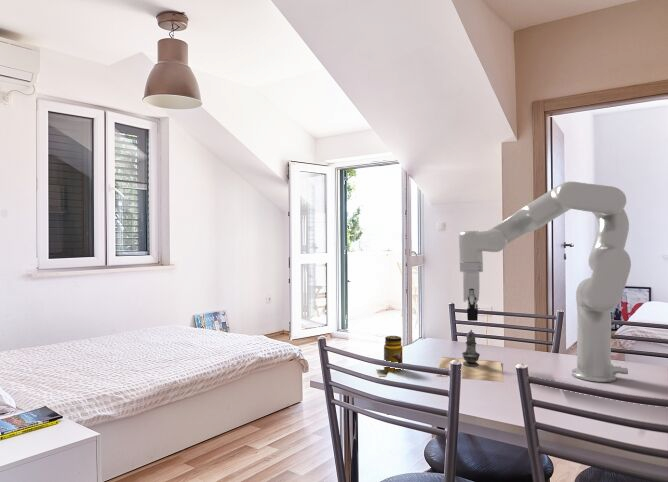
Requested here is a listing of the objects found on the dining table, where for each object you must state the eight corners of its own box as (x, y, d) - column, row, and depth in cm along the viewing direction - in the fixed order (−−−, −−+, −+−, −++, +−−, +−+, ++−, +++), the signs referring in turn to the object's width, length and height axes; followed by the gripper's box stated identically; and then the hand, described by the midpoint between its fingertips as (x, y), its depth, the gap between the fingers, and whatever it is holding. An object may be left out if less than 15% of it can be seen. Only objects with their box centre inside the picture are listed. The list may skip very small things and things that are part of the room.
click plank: (500, 364, 170) (500, 361, 170) (502, 376, 158) (502, 372, 158) (441, 360, 175) (441, 357, 175) (438, 371, 164) (438, 367, 164)
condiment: (405, 376, 158) (405, 339, 158) (379, 376, 158) (379, 339, 157) (401, 370, 165) (401, 334, 165) (376, 370, 165) (376, 334, 165)
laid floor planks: (502, 376, 158) (502, 372, 158) (503, 385, 148) (503, 381, 148) (438, 371, 163) (438, 367, 163) (436, 380, 154) (436, 376, 154)
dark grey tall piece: (482, 363, 168) (482, 328, 167) (477, 368, 163) (477, 332, 162) (465, 360, 171) (465, 326, 170) (459, 365, 166) (459, 330, 165)
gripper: (460, 266, 175) (462, 313, 176) (458, 269, 159) (460, 322, 159) (482, 265, 173) (484, 314, 173) (483, 269, 157) (484, 322, 157)
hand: (472, 318), depth 166 cm, fingers open, 9 cm apart
